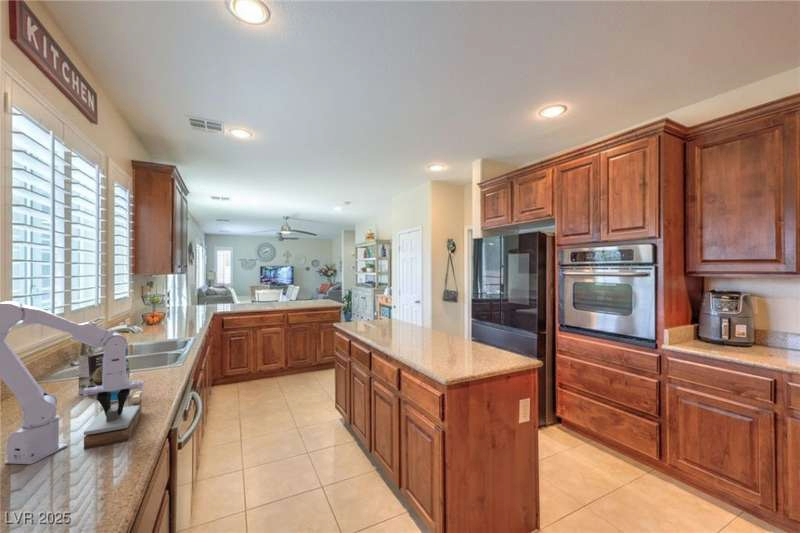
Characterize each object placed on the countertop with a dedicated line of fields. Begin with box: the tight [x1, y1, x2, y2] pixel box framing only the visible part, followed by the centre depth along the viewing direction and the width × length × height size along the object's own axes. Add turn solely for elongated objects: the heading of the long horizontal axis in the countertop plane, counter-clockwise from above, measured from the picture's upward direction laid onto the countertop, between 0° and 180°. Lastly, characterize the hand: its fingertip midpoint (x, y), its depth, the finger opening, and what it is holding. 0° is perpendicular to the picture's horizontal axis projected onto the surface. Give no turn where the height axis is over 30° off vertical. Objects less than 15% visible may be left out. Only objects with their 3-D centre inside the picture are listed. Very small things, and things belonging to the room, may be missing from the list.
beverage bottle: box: [102, 347, 131, 403], centre depth 133 cm, size 8×8×20 cm
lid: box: [83, 404, 140, 436], centre depth 106 cm, size 16×10×5 cm, turn 27°
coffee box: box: [77, 350, 104, 396], centre depth 141 cm, size 9×6×16 cm
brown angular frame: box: [83, 399, 143, 450], centre depth 109 cm, size 22×10×4 cm, turn 27°
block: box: [131, 390, 143, 405], centre depth 119 cm, size 6×2×2 cm, turn 27°
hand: (114, 414), depth 106 cm, fingers closed on lid, 2 cm apart
